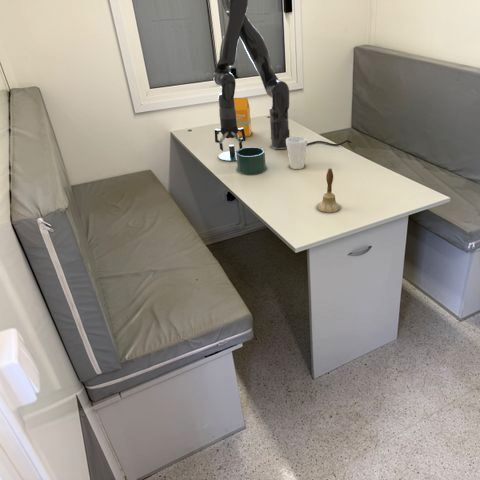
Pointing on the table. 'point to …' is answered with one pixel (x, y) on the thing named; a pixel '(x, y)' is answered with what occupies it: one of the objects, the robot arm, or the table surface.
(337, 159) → the table surface
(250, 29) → the robot arm
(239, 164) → the tin
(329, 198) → the hand bell
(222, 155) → the lid
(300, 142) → the foam cup
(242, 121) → the orange juice
